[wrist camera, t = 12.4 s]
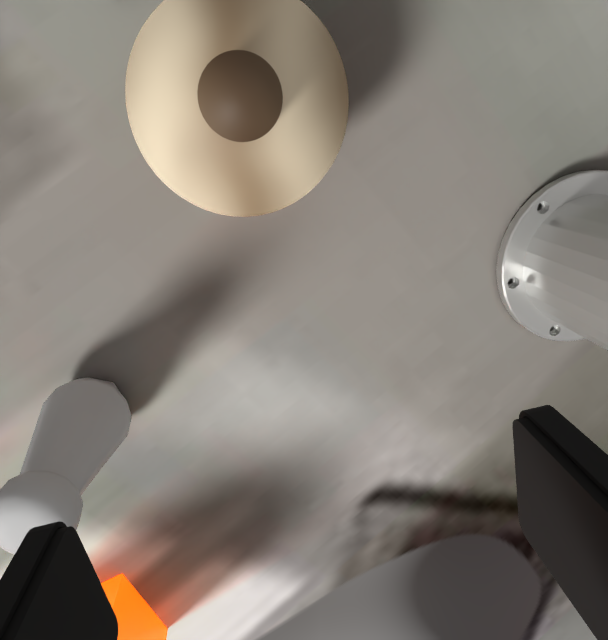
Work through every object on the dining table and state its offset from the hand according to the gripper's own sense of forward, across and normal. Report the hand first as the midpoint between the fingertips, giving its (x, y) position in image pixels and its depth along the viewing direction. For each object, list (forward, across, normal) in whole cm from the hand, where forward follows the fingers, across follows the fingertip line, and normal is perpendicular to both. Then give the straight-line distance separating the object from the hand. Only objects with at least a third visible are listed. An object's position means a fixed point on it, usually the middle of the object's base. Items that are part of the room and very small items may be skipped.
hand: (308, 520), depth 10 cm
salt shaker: (+26, +15, +8) cm, 30 cm away
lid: (+20, 0, -9) cm, 22 cm away
